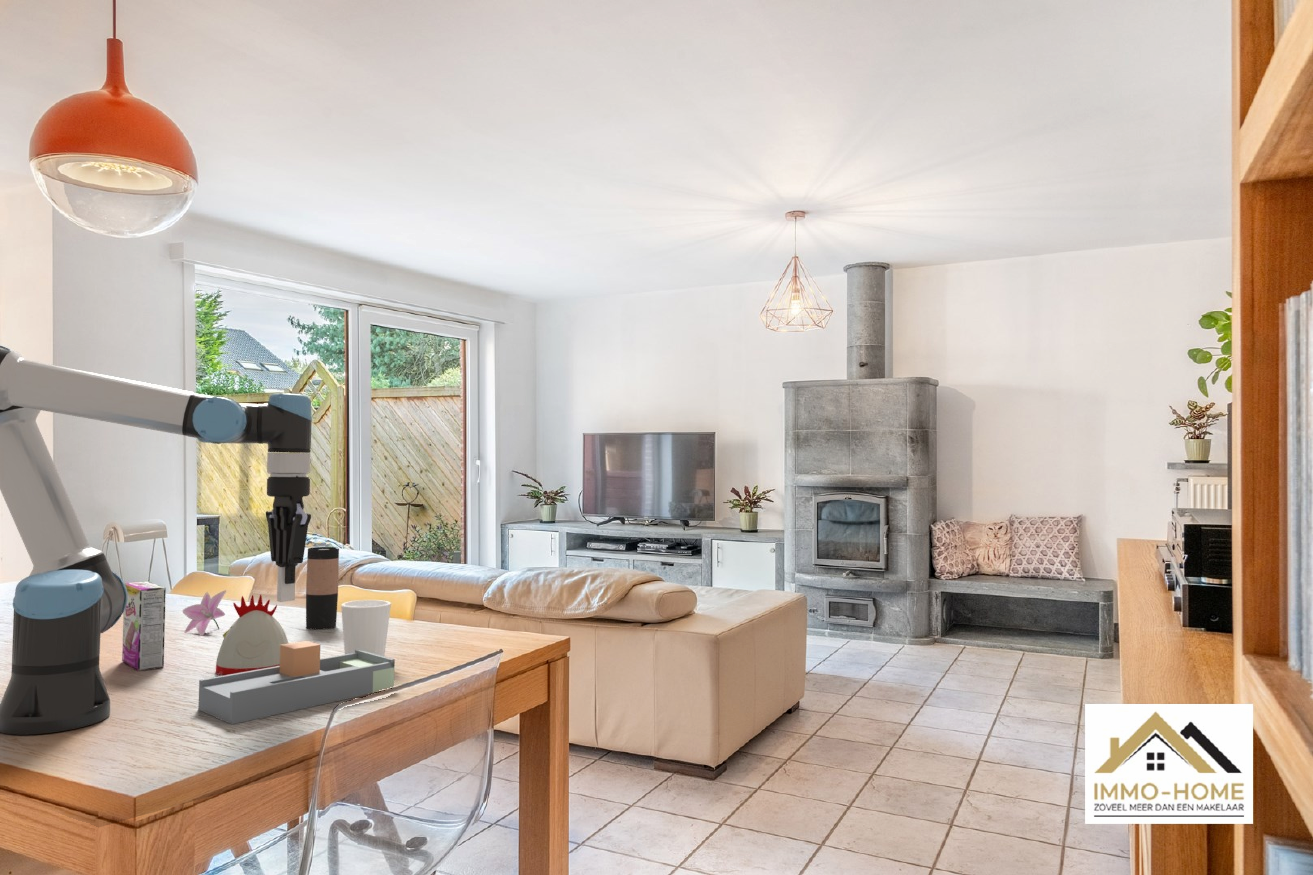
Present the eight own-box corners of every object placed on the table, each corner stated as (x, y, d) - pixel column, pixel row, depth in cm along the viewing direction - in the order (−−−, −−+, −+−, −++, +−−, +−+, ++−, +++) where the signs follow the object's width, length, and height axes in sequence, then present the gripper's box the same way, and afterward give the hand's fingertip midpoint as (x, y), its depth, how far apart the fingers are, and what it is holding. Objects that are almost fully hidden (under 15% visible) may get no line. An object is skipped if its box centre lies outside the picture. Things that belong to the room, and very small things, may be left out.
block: (293, 677, 153) (294, 648, 153) (279, 672, 156) (280, 644, 156) (319, 672, 156) (320, 644, 157) (305, 667, 160) (306, 640, 160)
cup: (330, 664, 180) (332, 602, 180) (374, 656, 187) (375, 598, 187) (354, 672, 173) (356, 608, 173) (398, 664, 180) (399, 603, 181)
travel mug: (298, 628, 216) (301, 549, 217) (315, 623, 224) (317, 546, 224) (326, 630, 215) (329, 550, 216) (342, 624, 223) (345, 547, 223)
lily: (181, 632, 215) (168, 602, 210) (230, 610, 221) (218, 580, 217) (196, 655, 207) (183, 623, 202) (246, 631, 213) (234, 600, 209)
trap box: (231, 724, 138) (232, 689, 138) (198, 709, 146) (199, 676, 146) (393, 688, 161) (394, 659, 161) (357, 677, 169) (358, 649, 169)
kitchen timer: (219, 663, 179) (222, 591, 179) (291, 658, 184) (293, 588, 185) (212, 679, 166) (215, 601, 167) (290, 674, 171) (292, 598, 172)
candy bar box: (119, 662, 178) (122, 582, 179) (146, 658, 182) (149, 580, 182) (137, 671, 171) (140, 588, 171) (164, 667, 174) (167, 586, 175)
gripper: (325, 476, 162) (322, 602, 161) (290, 474, 170) (288, 594, 169) (286, 476, 156) (283, 607, 155) (252, 475, 164) (249, 599, 163)
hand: (285, 600), depth 162 cm, fingers closed
